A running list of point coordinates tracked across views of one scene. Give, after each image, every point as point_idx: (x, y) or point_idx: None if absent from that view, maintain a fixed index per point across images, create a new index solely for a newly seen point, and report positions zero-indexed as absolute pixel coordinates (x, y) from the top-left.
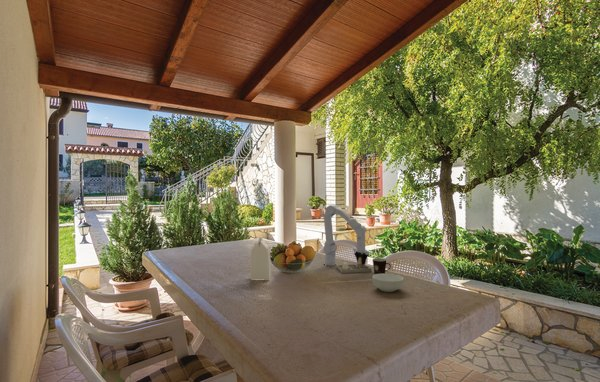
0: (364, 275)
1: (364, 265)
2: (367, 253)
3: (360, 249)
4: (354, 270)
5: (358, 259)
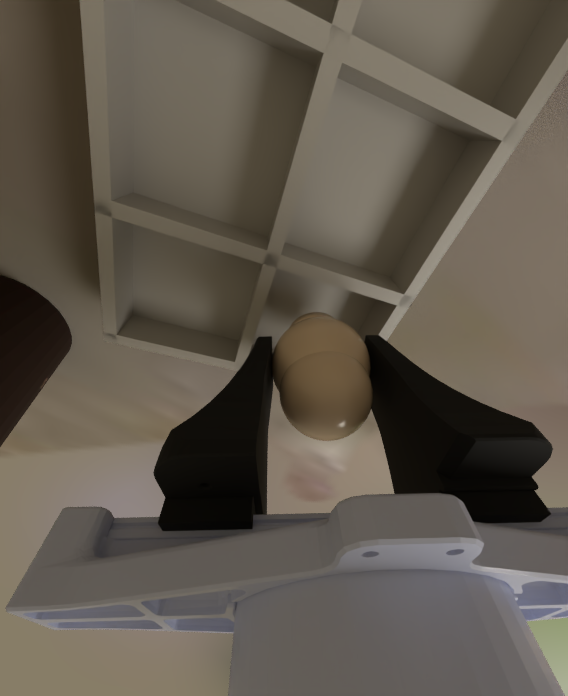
0: (7, 151)
1: None
2: (50, 558)
3: (271, 678)
4: (93, 17)
5: (350, 364)
